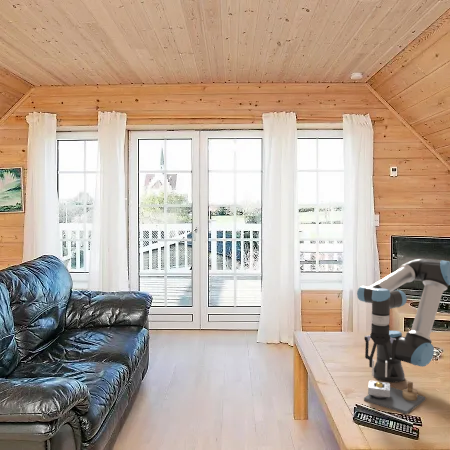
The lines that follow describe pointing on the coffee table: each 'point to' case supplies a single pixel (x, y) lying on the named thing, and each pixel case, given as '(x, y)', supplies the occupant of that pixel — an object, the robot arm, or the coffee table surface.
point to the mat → (396, 401)
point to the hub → (379, 384)
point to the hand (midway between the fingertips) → (379, 375)
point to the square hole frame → (379, 389)
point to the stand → (410, 392)
